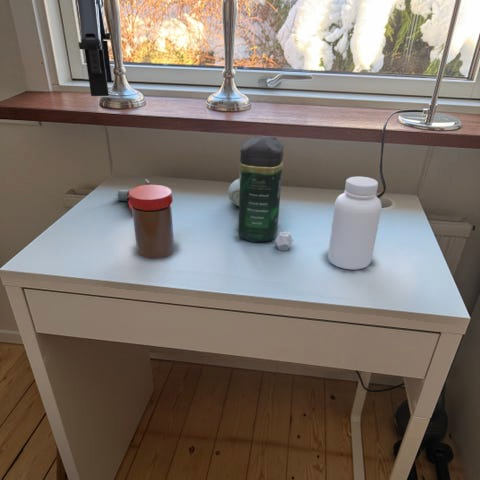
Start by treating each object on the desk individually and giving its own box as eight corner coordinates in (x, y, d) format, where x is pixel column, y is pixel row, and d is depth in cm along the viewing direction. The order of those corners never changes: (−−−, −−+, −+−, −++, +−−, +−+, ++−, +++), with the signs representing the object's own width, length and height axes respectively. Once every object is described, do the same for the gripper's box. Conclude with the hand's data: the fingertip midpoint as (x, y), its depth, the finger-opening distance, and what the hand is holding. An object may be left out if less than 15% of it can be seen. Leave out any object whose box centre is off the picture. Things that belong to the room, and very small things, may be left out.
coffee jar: (274, 245, 91) (281, 148, 80) (234, 241, 92) (236, 144, 81) (280, 225, 99) (287, 134, 88) (243, 222, 100) (245, 131, 89)
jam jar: (137, 260, 85) (130, 204, 79) (136, 243, 91) (130, 190, 84) (175, 257, 86) (172, 202, 80) (172, 240, 92) (169, 188, 86)
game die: (290, 253, 88) (291, 239, 87) (271, 250, 89) (272, 236, 87) (294, 245, 91) (295, 231, 89) (276, 242, 92) (277, 228, 90)
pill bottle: (343, 246, 91) (356, 170, 82) (378, 261, 87) (396, 181, 78) (318, 259, 87) (329, 180, 78) (354, 275, 82) (370, 193, 73)
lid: (170, 193, 87) (170, 183, 85) (173, 209, 81) (173, 198, 79) (129, 195, 85) (128, 185, 84) (129, 211, 79) (128, 200, 78)
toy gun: (117, 197, 110) (114, 177, 107) (167, 200, 109) (166, 179, 106) (104, 213, 102) (100, 192, 99) (158, 216, 101) (156, 195, 98)
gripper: (102, -80, 59) (123, 102, 71) (111, -64, 79) (125, 76, 91) (40, -83, 58) (72, 103, 70) (64, -66, 78) (86, 76, 90)
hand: (102, 88), depth 81 cm, fingers open, 13 cm apart
